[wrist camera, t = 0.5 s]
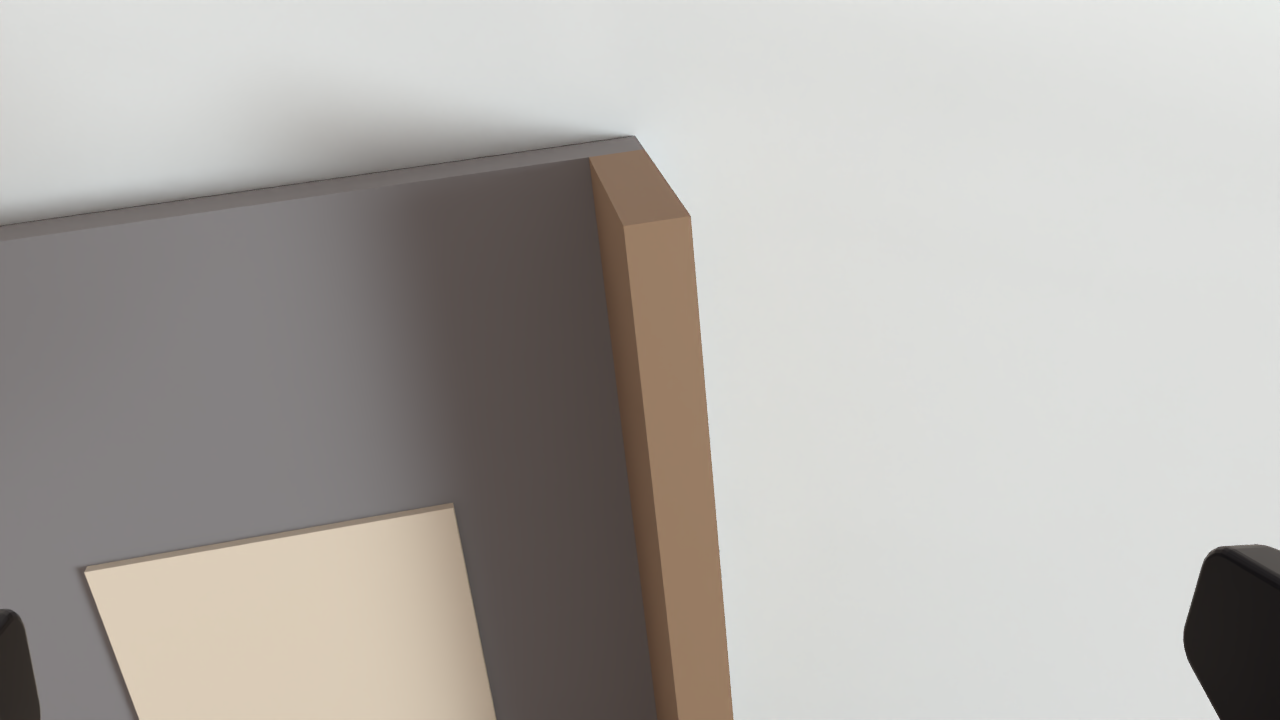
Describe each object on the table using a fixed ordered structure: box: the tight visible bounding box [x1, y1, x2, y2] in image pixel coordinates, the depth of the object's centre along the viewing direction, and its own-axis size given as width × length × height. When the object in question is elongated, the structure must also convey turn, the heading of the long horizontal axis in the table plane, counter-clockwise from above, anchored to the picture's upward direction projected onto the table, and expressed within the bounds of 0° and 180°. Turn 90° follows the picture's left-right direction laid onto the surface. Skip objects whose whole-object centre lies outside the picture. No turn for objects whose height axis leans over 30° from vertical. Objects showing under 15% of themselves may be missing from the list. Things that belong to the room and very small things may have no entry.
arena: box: [0, 136, 733, 720], centre depth 22 cm, size 18×18×5 cm
